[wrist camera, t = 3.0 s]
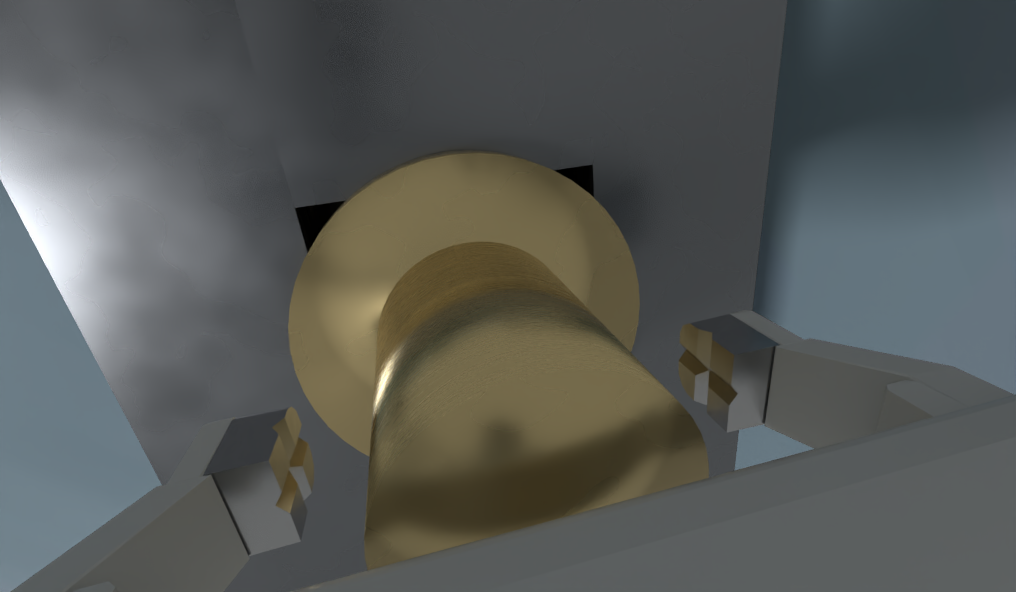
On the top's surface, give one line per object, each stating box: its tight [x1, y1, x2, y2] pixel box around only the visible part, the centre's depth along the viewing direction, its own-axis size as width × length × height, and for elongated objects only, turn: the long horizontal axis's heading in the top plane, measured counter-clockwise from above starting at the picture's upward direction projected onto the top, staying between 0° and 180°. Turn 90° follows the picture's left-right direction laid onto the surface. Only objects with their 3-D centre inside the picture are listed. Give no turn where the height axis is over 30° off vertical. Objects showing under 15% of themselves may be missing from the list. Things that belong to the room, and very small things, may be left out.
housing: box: [0, 0, 787, 592], centre depth 16 cm, size 18×18×7 cm
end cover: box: [288, 150, 709, 570], centre depth 12 cm, size 9×9×12 cm
